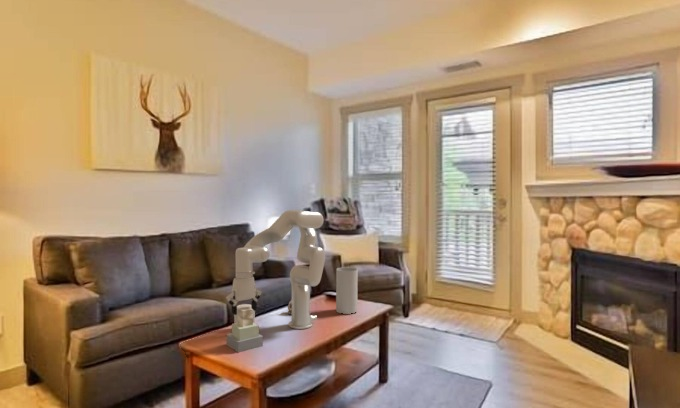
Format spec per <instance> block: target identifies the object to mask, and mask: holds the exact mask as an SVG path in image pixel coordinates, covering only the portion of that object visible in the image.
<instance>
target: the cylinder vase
mask: <svg viewBox="0 0 680 408" xmlns="http://www.w3.org/2000/svg"><path fill="white" fill-rule="evenodd" d="M335 274H336V276H335V277H336V281H335V282H336V283H335V284H336V287H335V289H336V292H335V293H336V294H335V295H336V296H335V311H336V312H337V313H338V314H341V313H343V314H342V315H352V314H351V313H353V314H356V313H357V312H358V289H359V288H358V284H359V283H358V278H359V277H358V276H359V269H358V268H355V267H344V266H343V267H337V268H336V273H335ZM355 312H356V313H355Z"/></svg>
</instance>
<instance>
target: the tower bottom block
mask: <svg viewBox="0 0 680 408" xmlns="http://www.w3.org/2000/svg"><path fill="white" fill-rule="evenodd" d="M226 346H229V347H230V348H231V349H233V350H234V351H236V352H237V353H238V354H239V353H242V352H246V351H251V350H255V349H257V348H258V349H259V348H261V347H264V336H263V335H262V334H260V333H259V336H258V337H254V338H249V339H245V340H239V339H237V338H236V337H234V336H233V335H232V333H228V334H226Z"/></svg>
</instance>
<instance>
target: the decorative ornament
mask: <svg viewBox="0 0 680 408" xmlns="http://www.w3.org/2000/svg"><path fill="white" fill-rule="evenodd" d="M287 310H288V311H287V314H289V315H292V299H291V300H290V301H289V302H288V305H287Z"/></svg>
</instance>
